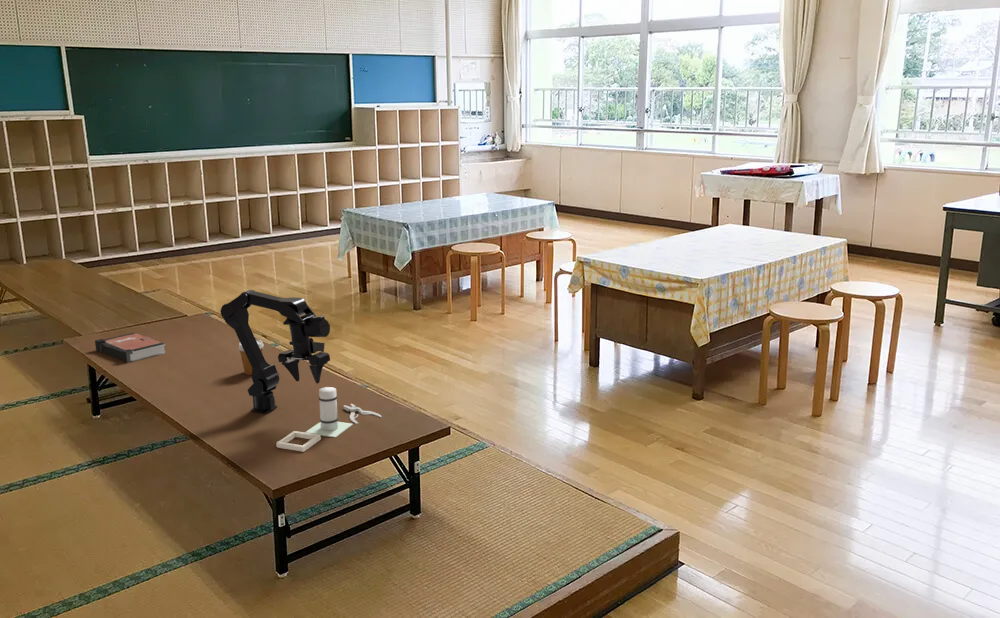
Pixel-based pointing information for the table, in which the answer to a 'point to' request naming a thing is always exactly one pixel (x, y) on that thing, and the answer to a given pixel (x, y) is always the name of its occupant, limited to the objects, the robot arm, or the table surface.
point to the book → (130, 347)
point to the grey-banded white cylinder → (328, 409)
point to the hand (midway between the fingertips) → (307, 382)
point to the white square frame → (313, 437)
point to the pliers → (355, 409)
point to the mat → (334, 433)
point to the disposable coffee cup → (245, 360)
